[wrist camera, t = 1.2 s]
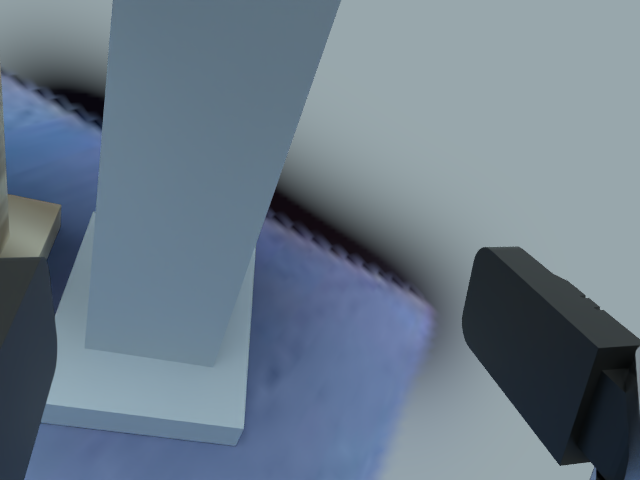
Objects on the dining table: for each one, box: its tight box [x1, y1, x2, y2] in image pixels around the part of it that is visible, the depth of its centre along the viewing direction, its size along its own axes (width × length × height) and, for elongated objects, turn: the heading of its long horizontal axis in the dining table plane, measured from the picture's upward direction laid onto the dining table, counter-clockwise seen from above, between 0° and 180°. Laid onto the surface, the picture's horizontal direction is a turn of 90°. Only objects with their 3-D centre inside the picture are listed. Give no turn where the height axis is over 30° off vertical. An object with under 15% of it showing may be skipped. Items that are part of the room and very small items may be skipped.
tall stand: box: [40, 0, 341, 446], centre depth 26 cm, size 14×11×32 cm
